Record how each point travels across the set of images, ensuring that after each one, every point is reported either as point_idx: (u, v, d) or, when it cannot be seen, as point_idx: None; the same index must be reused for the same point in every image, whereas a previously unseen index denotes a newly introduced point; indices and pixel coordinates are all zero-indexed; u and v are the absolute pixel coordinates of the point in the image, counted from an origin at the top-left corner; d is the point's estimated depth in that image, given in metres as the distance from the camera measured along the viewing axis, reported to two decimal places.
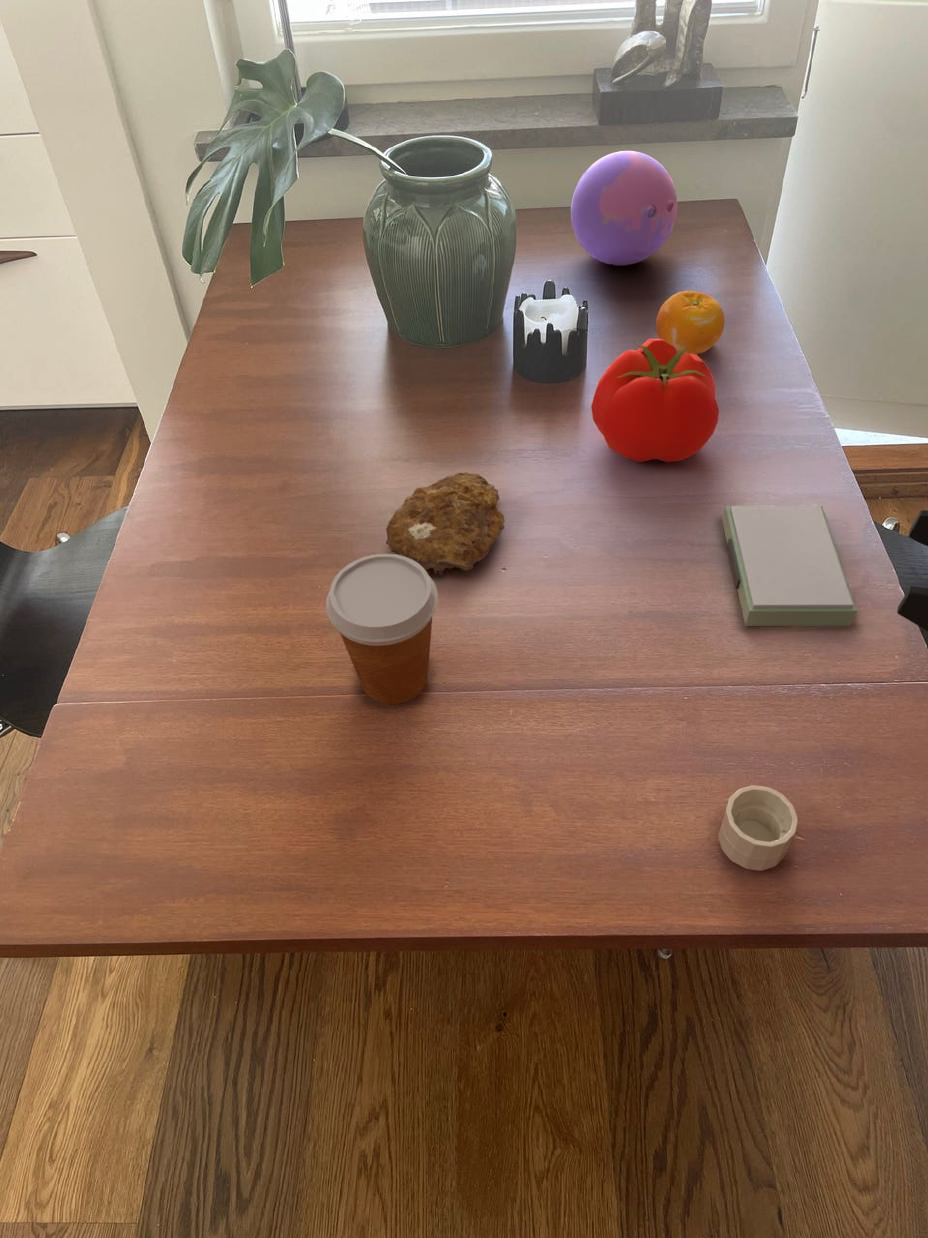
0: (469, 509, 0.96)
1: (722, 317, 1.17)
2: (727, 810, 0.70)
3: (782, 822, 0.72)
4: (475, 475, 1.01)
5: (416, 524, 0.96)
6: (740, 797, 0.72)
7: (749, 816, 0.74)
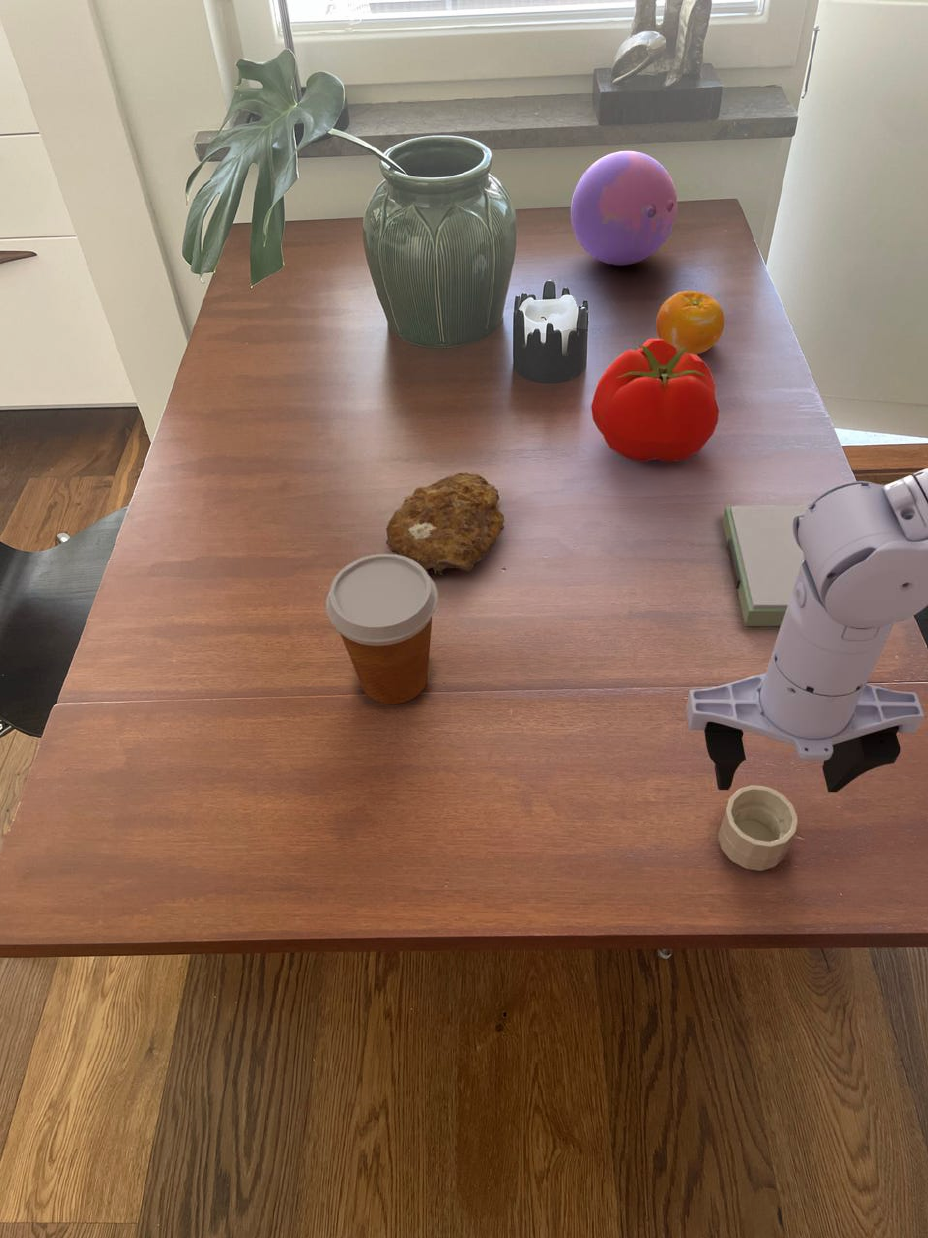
0: (469, 509, 0.96)
1: (722, 317, 1.17)
2: (727, 810, 0.70)
3: (782, 822, 0.72)
4: (475, 475, 1.01)
5: (416, 524, 0.96)
6: (740, 797, 0.72)
7: (749, 816, 0.74)
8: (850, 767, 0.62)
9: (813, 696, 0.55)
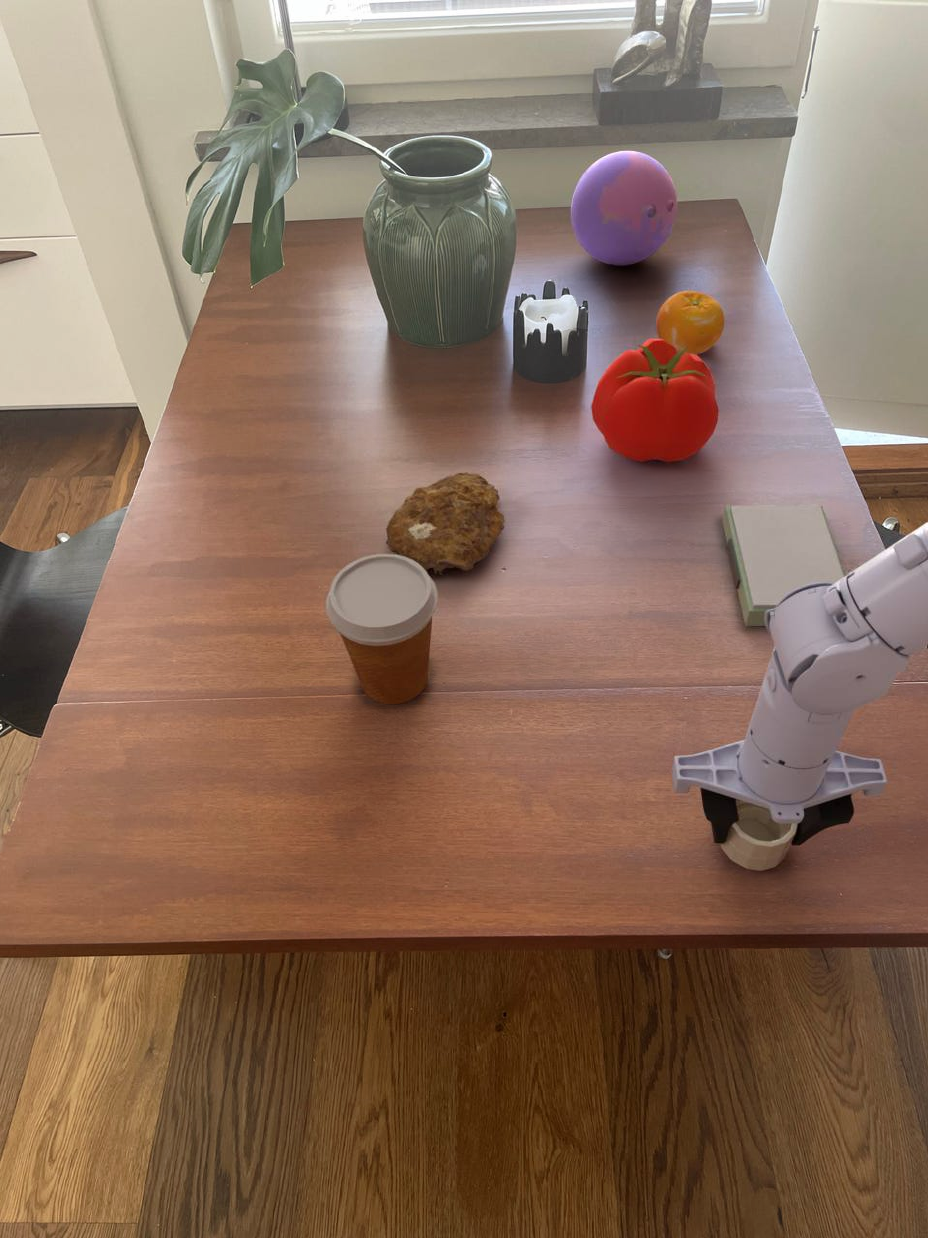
0: (469, 509, 0.96)
1: (722, 317, 1.17)
2: None
3: None
4: (475, 475, 1.01)
5: (416, 524, 0.96)
6: None
7: (750, 816, 0.74)
8: (809, 826, 0.68)
9: (785, 768, 0.61)
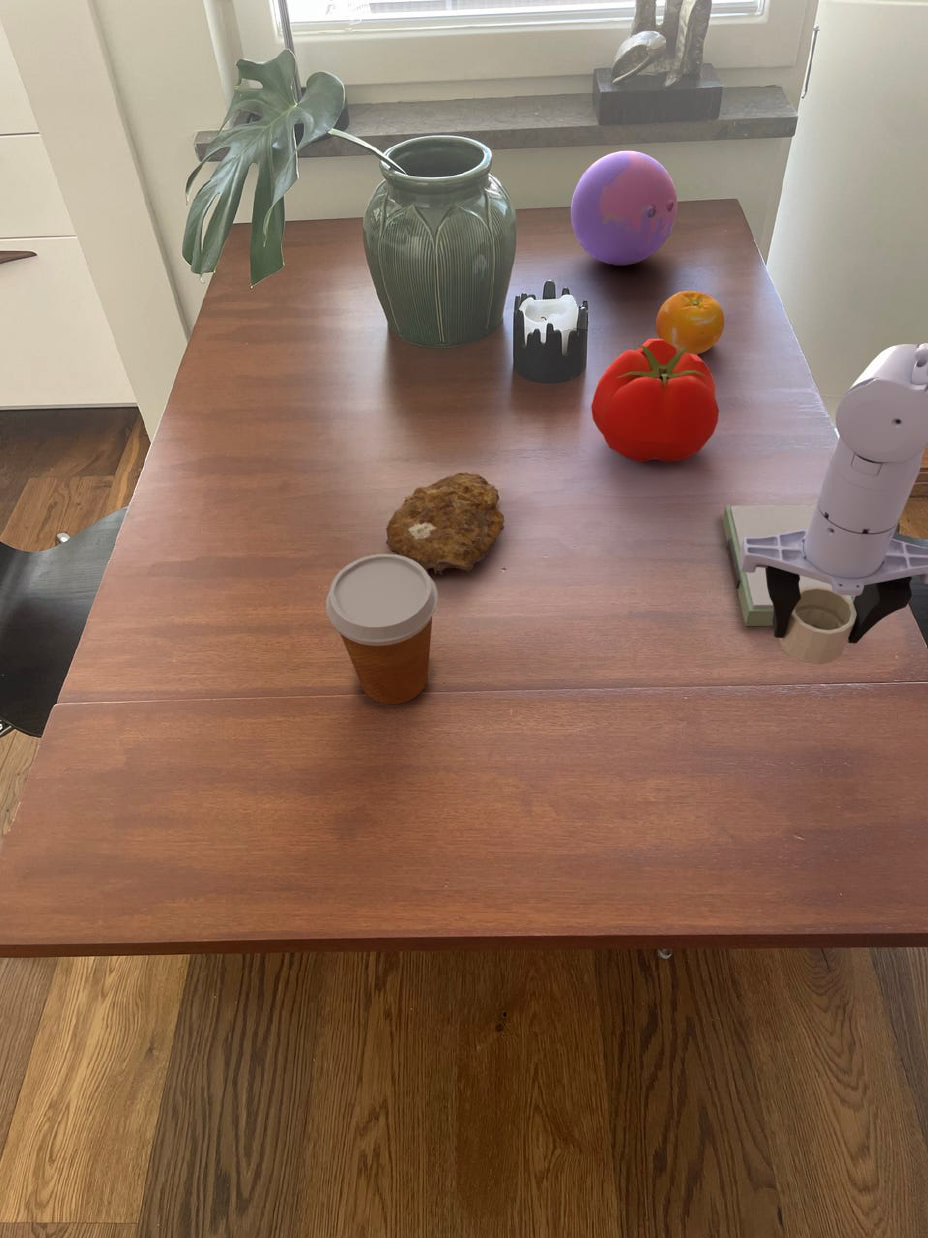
0: (469, 509, 0.96)
1: (722, 317, 1.17)
2: None
3: (841, 621, 0.76)
4: (475, 475, 1.01)
5: (416, 524, 0.96)
6: (802, 596, 0.76)
7: (809, 619, 0.78)
8: (867, 614, 0.72)
9: (849, 534, 0.65)
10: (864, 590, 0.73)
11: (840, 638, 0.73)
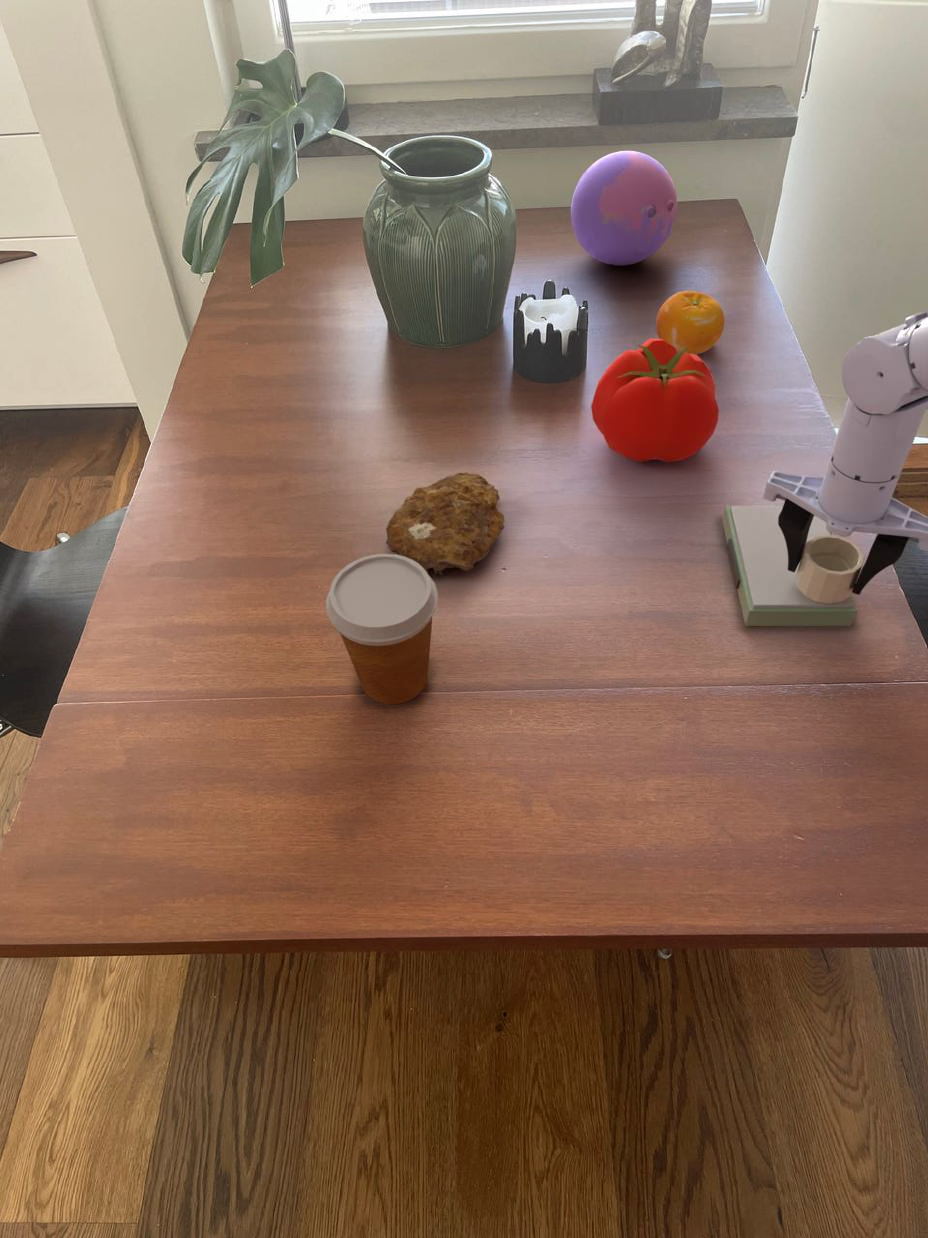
0: (469, 509, 0.96)
1: (722, 317, 1.17)
2: (807, 542, 0.86)
3: None
4: (475, 475, 1.01)
5: (416, 524, 0.96)
6: (825, 542, 0.87)
7: (830, 567, 0.88)
8: (864, 564, 0.82)
9: (844, 477, 0.76)
10: None
11: (838, 581, 0.84)
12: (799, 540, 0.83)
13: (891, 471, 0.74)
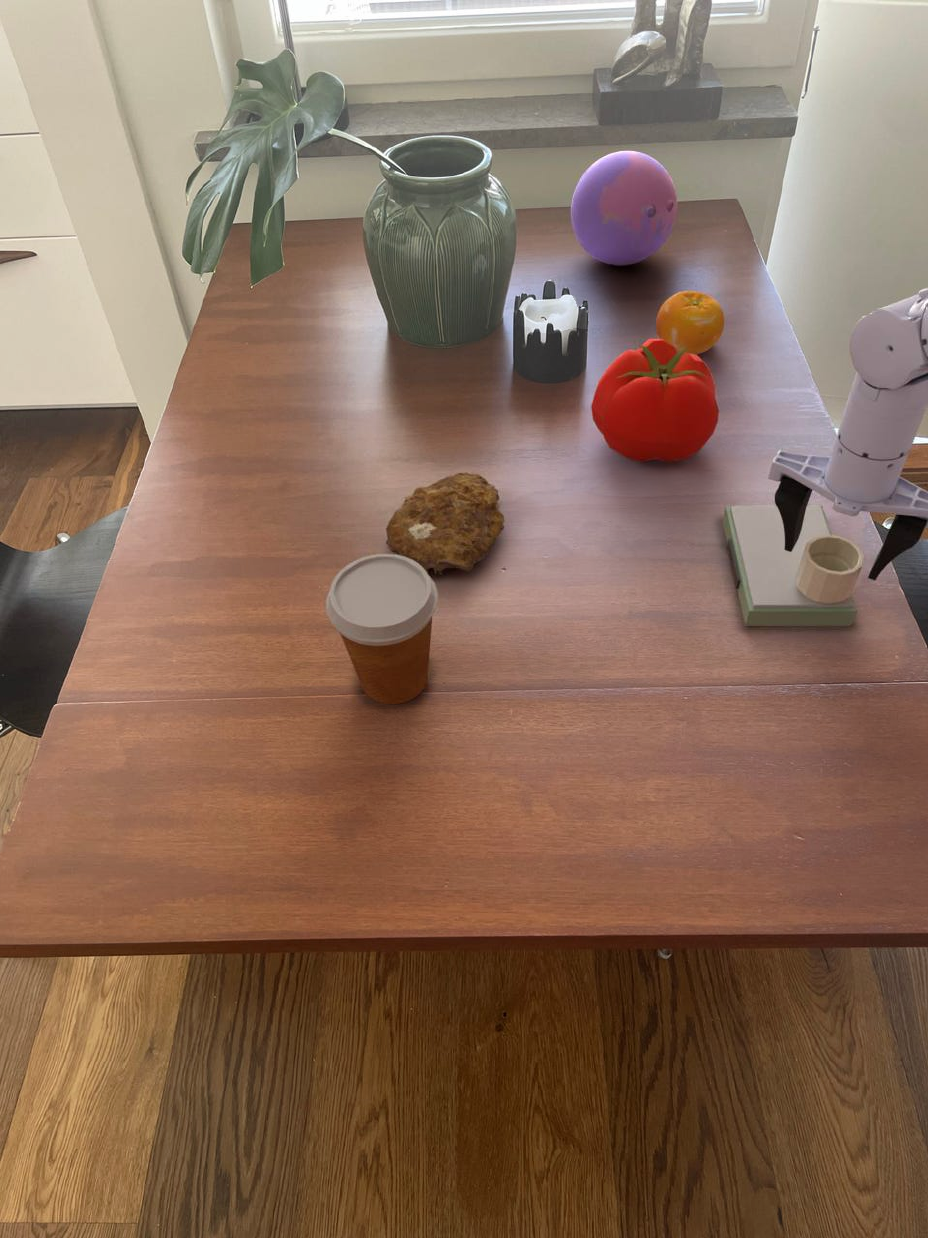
0: (469, 509, 0.96)
1: (722, 317, 1.17)
2: (807, 542, 0.86)
3: None
4: (475, 475, 1.01)
5: (416, 524, 0.96)
6: (825, 542, 0.87)
7: (830, 567, 0.88)
8: (881, 549, 0.79)
9: (852, 455, 0.74)
10: None
11: (838, 581, 0.84)
12: (796, 518, 0.82)
13: (900, 448, 0.72)
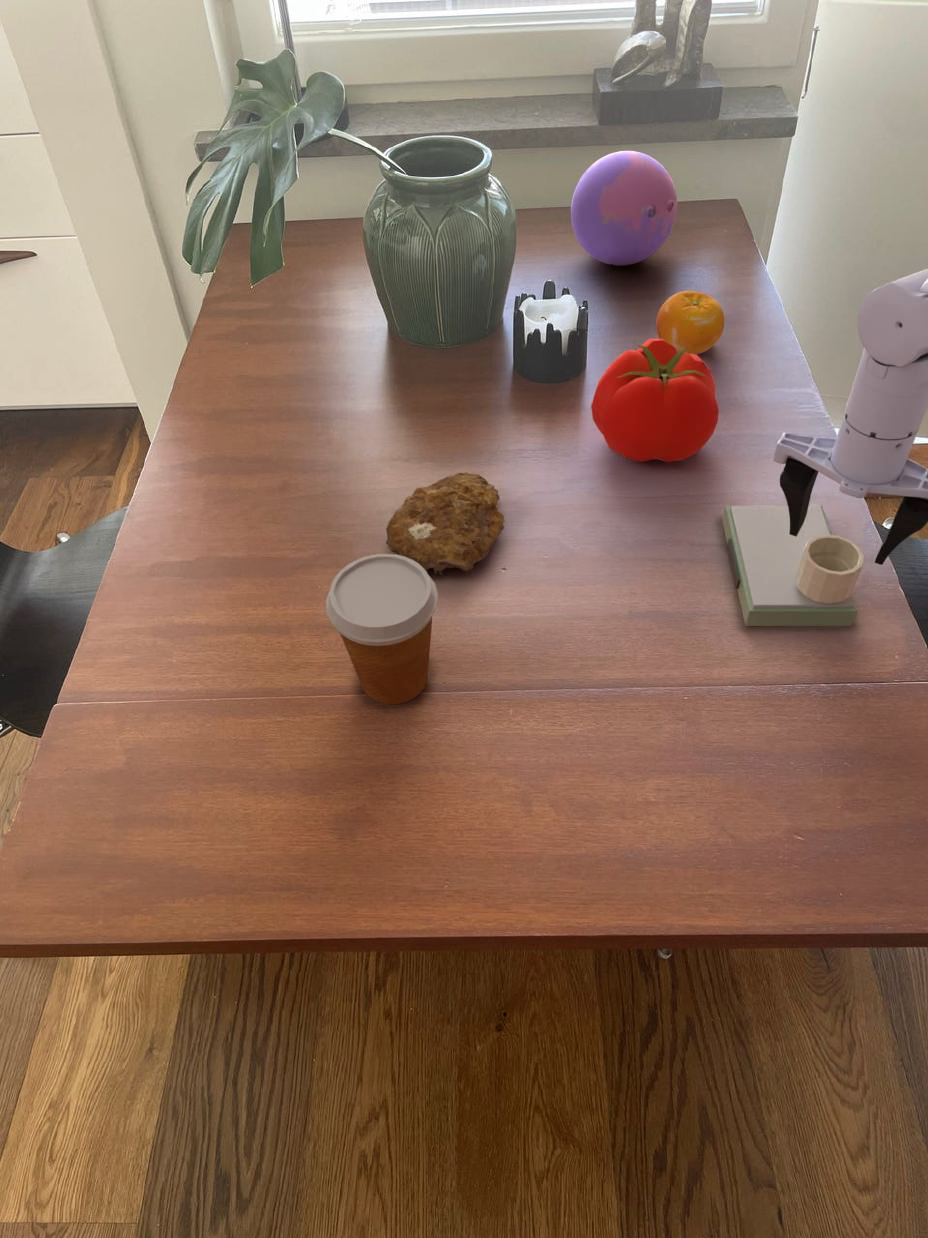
0: (469, 509, 0.96)
1: (722, 317, 1.17)
2: (807, 542, 0.86)
3: None
4: (475, 475, 1.01)
5: (416, 524, 0.96)
6: (825, 542, 0.87)
7: (830, 567, 0.88)
8: (889, 532, 0.78)
9: (859, 435, 0.73)
10: None
11: (838, 581, 0.84)
12: (801, 501, 0.80)
13: (908, 427, 0.71)
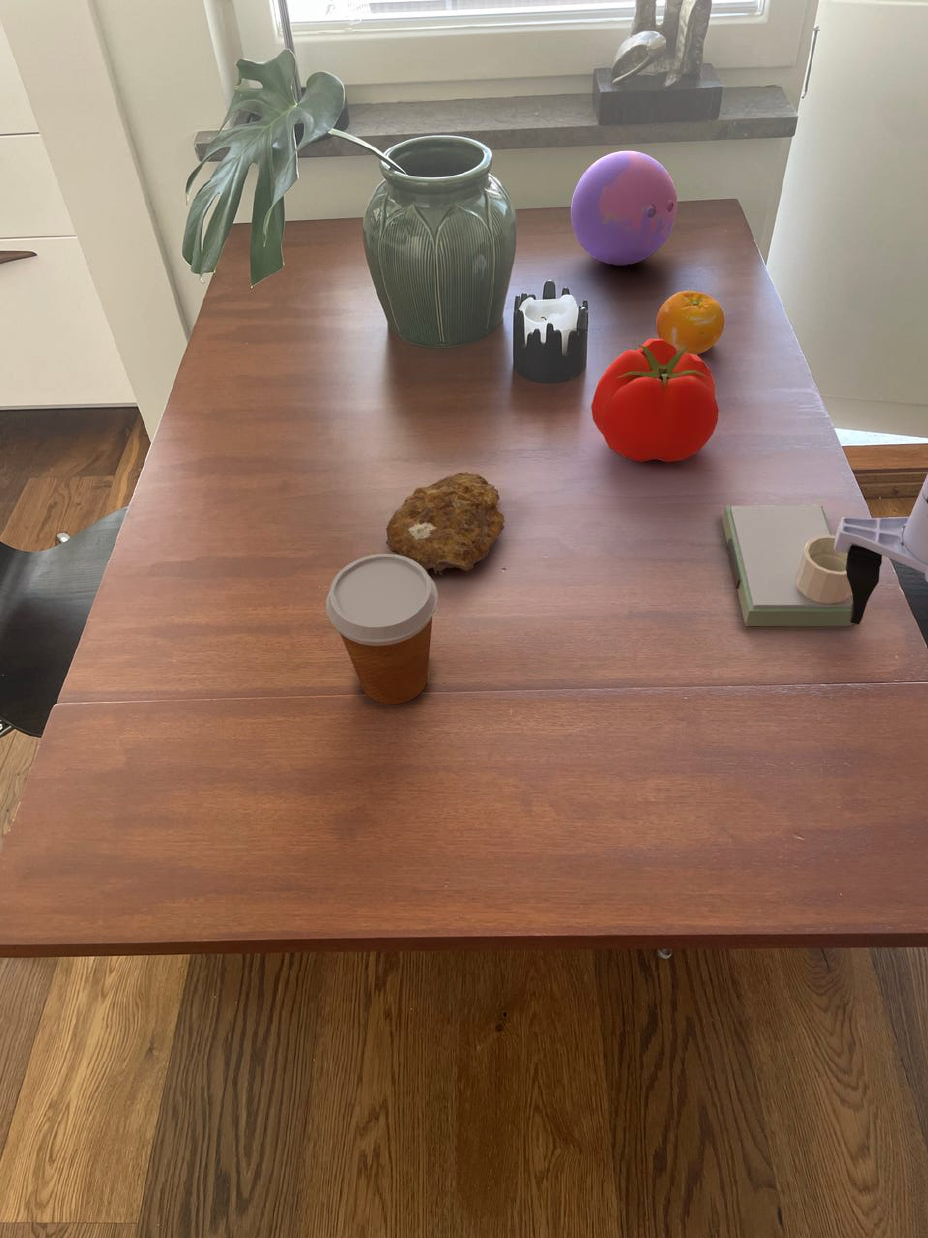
0: (469, 509, 0.96)
1: (722, 317, 1.17)
2: (807, 542, 0.86)
3: None
4: (475, 475, 1.01)
5: (416, 524, 0.96)
6: (825, 542, 0.87)
7: (830, 567, 0.88)
8: None
9: None
10: None
11: (838, 581, 0.84)
12: (871, 591, 0.71)
13: None
